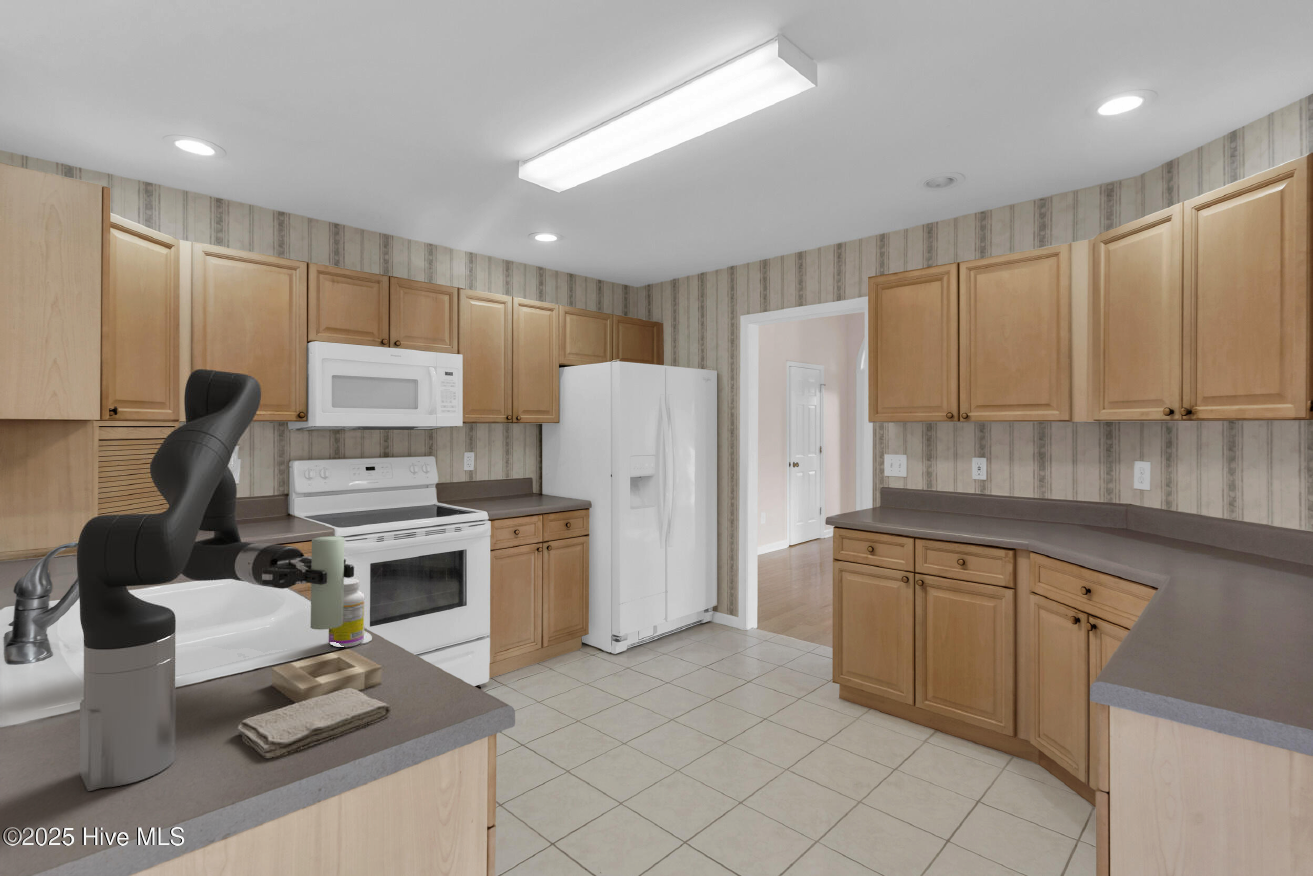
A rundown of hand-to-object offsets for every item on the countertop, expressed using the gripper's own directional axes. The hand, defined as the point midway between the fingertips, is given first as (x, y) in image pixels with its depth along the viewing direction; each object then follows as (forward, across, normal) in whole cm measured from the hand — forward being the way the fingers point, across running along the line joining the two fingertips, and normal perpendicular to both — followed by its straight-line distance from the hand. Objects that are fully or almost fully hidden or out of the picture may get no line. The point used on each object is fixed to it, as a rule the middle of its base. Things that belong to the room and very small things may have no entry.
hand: (338, 574), depth 110 cm
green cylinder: (-3, 0, +9) cm, 9 cm away
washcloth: (+9, -11, +20) cm, 25 cm away
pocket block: (-3, 0, +19) cm, 20 cm away
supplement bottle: (-17, +17, +20) cm, 31 cm away
